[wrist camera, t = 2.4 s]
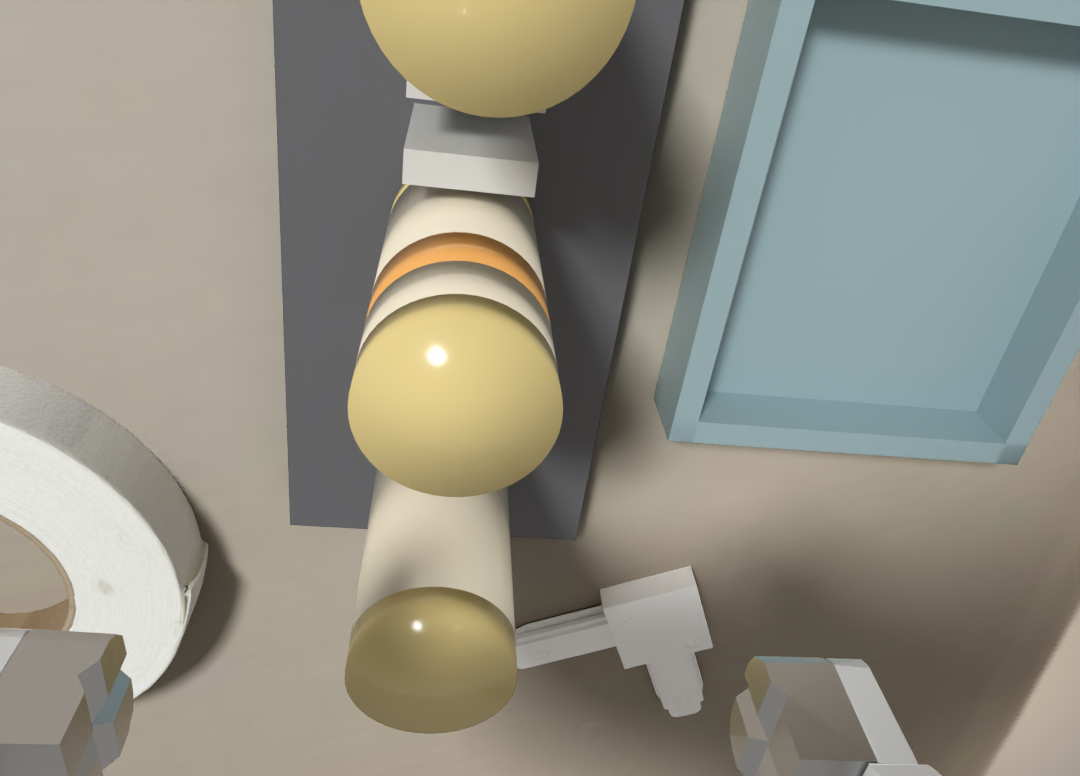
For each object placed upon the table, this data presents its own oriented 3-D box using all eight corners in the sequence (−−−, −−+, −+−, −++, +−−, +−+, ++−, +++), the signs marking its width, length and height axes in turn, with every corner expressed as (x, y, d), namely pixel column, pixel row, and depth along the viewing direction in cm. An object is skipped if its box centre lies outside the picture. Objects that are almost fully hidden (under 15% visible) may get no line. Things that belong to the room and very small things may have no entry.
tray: (763, -63, 22) (795, -53, 19) (1185, -1, 23) (1257, 14, 21) (653, 398, 29) (668, 441, 27) (979, 422, 30) (1017, 464, 28)
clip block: (273, -324, 18) (209, -379, 14) (721, -246, 19) (793, -275, 15) (296, 502, 30) (266, 612, 26) (571, 517, 31) (588, 625, 27)
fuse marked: (393, 146, 23) (348, 309, 15) (541, 162, 23) (577, 328, 15) (388, 283, 25) (346, 491, 17) (524, 295, 25) (547, 502, 17)
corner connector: (550, 720, 39) (553, 752, 37) (496, 604, 35) (497, 635, 33) (721, 680, 38) (730, 710, 37) (688, 556, 34) (696, 585, 32)
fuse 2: (383, 384, 26) (344, 616, 18) (511, 393, 27) (527, 623, 19) (379, 484, 29) (343, 731, 21) (498, 491, 29) (507, 735, 21)
